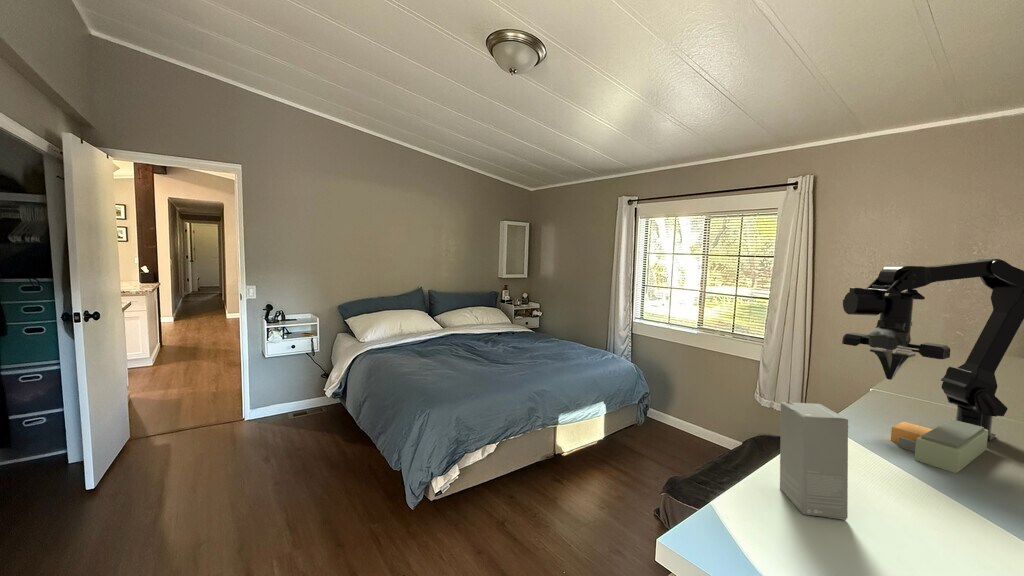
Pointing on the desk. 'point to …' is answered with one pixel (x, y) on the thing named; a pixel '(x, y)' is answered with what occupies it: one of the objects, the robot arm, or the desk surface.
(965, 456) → the sage green lidded box
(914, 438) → the amber cuboid
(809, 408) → the skincare box
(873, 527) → the desk surface
